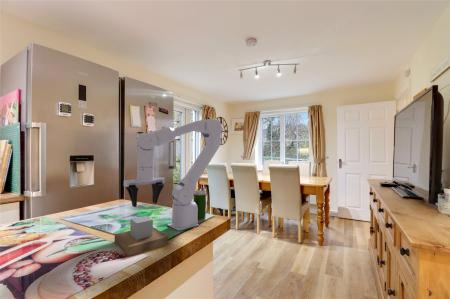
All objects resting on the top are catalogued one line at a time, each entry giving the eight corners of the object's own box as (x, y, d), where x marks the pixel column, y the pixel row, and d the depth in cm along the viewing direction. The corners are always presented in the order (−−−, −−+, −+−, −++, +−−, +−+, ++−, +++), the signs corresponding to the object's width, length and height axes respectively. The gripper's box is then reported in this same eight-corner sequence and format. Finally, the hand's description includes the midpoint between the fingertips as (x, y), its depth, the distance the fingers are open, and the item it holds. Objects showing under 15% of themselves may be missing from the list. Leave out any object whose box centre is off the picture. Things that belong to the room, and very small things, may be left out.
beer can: (196, 222, 90) (196, 193, 90) (190, 218, 95) (191, 190, 95) (207, 220, 93) (208, 191, 93) (201, 216, 98) (202, 189, 98)
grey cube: (145, 231, 73) (145, 215, 73) (152, 235, 70) (152, 219, 70) (130, 234, 70) (130, 219, 70) (136, 239, 66) (137, 223, 66)
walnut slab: (150, 234, 78) (151, 225, 78) (167, 245, 69) (168, 236, 69) (114, 243, 70) (114, 234, 70) (128, 258, 61) (128, 247, 61)
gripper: (158, 165, 88) (158, 199, 88) (120, 166, 78) (119, 205, 78) (168, 166, 83) (167, 203, 83) (128, 168, 73) (127, 209, 73)
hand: (144, 204), depth 80 cm, fingers open, 7 cm apart
